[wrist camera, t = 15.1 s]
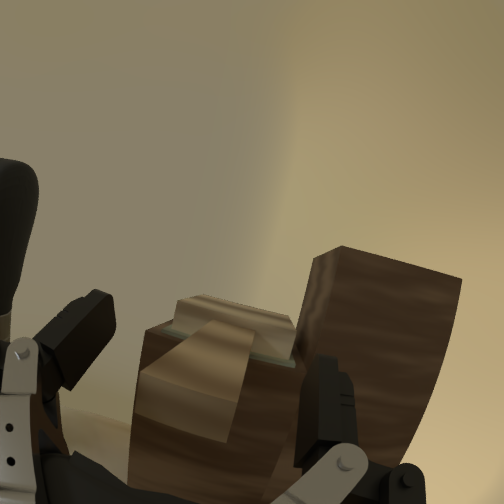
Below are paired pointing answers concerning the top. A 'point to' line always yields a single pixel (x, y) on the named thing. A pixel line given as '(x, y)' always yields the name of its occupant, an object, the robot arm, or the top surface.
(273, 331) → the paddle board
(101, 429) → the top surface
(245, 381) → the two-tone wooden block
